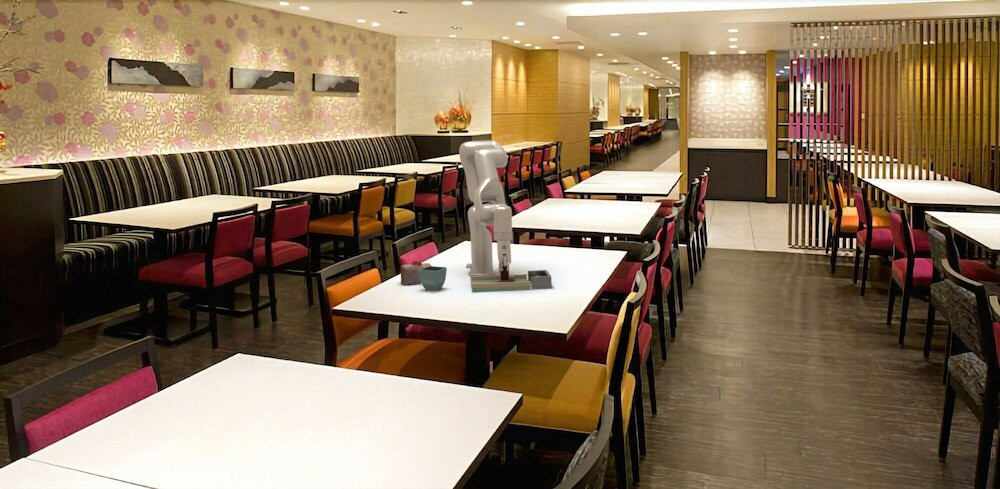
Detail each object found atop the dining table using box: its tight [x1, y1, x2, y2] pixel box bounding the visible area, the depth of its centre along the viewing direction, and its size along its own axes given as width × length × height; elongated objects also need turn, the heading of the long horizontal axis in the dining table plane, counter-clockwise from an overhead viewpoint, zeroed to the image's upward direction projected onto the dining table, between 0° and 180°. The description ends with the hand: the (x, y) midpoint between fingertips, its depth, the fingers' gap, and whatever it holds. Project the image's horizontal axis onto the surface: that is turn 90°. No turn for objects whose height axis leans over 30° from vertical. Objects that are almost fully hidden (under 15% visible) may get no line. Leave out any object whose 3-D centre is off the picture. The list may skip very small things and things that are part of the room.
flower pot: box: [419, 265, 448, 292], centre depth 315 cm, size 9×9×9 cm
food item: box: [400, 260, 432, 286], centre depth 328 cm, size 14×8×10 cm, turn 114°
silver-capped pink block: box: [497, 262, 516, 283], centre depth 316 cm, size 7×4×8 cm, turn 94°
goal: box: [527, 269, 553, 290], centre depth 318 cm, size 8×13×5 cm, turn 4°
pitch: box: [470, 273, 532, 293], centre depth 317 cm, size 24×15×3 cm, turn 94°
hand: (504, 278), depth 317 cm, fingers open, 4 cm apart
